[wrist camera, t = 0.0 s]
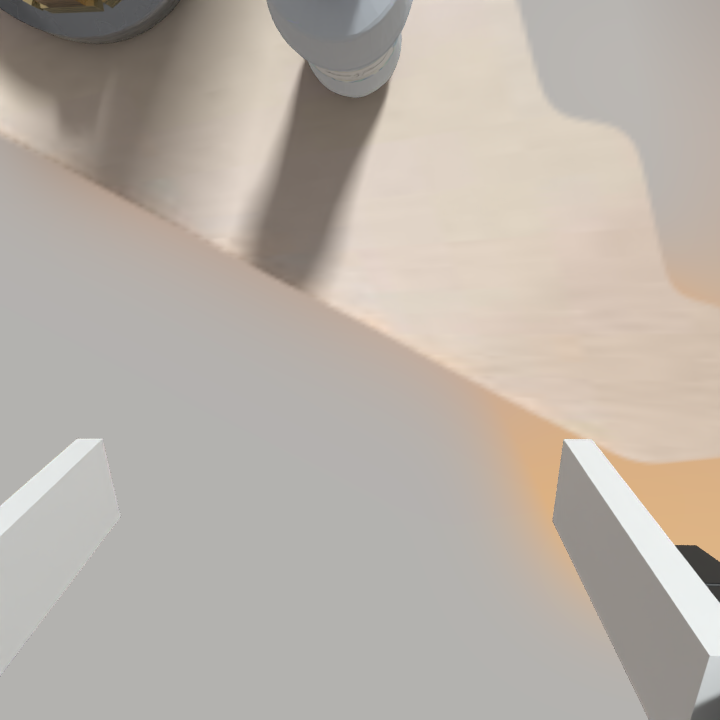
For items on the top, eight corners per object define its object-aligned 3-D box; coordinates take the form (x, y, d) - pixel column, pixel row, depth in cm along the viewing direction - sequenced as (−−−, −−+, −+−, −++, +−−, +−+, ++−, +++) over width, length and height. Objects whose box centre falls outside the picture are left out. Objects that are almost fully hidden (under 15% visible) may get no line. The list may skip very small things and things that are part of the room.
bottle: (316, 111, 36) (246, 48, 18) (298, 3, 34) (197, -200, 15) (408, 96, 36) (436, 13, 17) (396, -16, 33) (415, -252, 15)
